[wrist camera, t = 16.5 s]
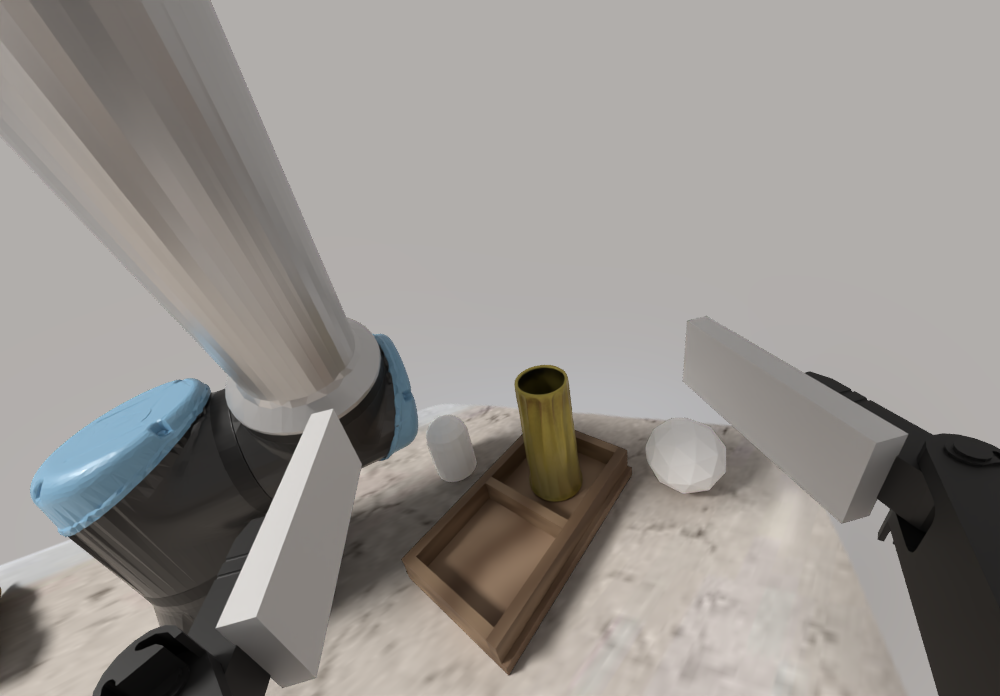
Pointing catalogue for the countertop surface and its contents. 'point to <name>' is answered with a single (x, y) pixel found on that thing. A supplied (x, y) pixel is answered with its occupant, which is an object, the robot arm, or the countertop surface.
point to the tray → (514, 546)
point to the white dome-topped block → (451, 448)
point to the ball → (686, 455)
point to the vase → (548, 432)
